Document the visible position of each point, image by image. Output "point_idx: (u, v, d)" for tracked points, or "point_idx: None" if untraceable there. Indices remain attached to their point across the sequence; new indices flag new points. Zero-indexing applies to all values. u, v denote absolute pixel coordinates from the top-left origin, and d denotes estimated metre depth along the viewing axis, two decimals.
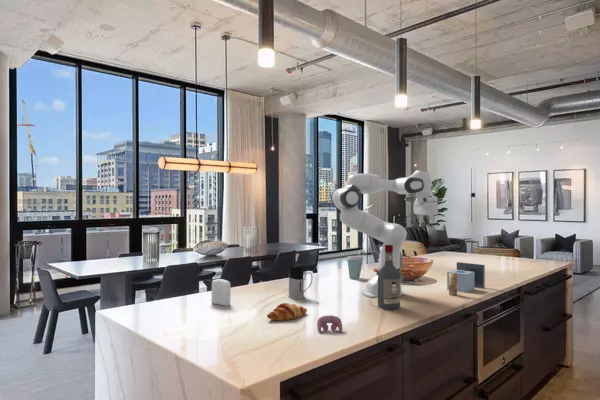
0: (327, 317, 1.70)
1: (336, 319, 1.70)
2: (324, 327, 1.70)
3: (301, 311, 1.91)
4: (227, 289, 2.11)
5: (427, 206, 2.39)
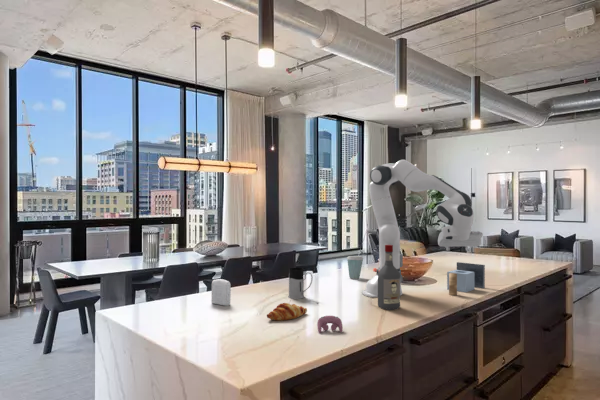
0: (327, 317, 1.70)
1: (336, 319, 1.70)
2: (324, 327, 1.70)
3: (301, 311, 1.91)
4: (227, 289, 2.11)
5: None
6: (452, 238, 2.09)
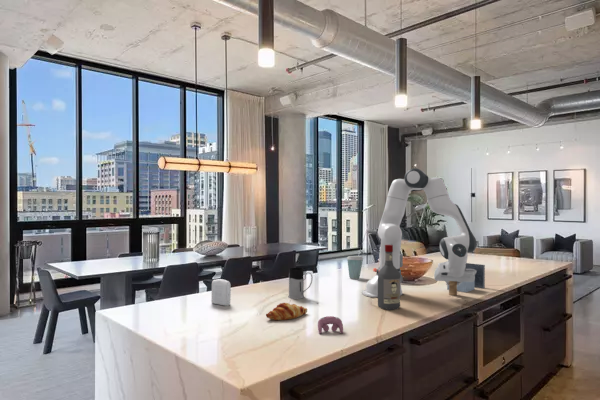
0: (328, 318, 1.69)
1: (337, 320, 1.69)
2: (325, 328, 1.69)
3: (301, 311, 1.91)
4: (227, 289, 2.11)
5: None
6: (447, 274, 2.22)
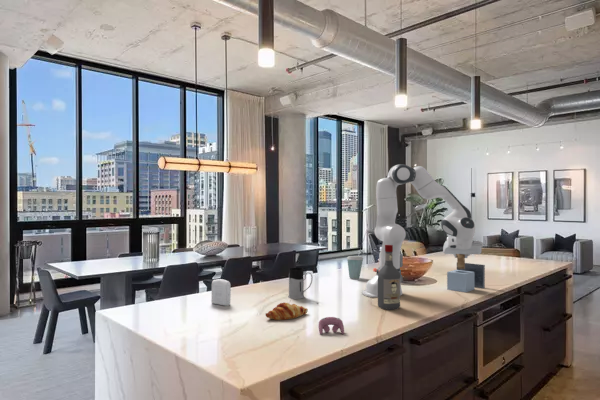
0: (328, 319, 1.68)
1: (338, 321, 1.68)
2: (325, 329, 1.68)
3: (301, 311, 1.91)
4: (227, 289, 2.11)
5: None
6: (456, 247, 2.36)
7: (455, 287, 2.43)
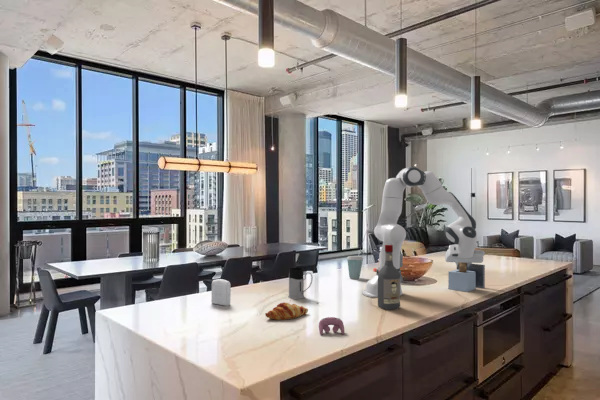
0: (329, 319, 1.68)
1: (338, 321, 1.68)
2: (326, 329, 1.67)
3: (301, 311, 1.91)
4: (227, 289, 2.11)
5: None
6: (458, 255, 2.38)
7: (456, 287, 2.44)
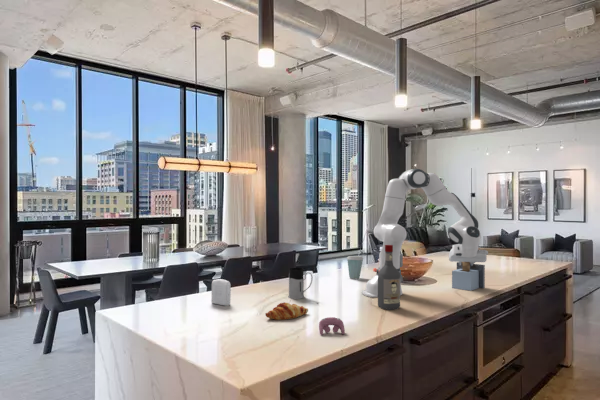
0: (329, 319, 1.67)
1: (338, 321, 1.67)
2: (326, 329, 1.67)
3: (301, 311, 1.91)
4: (227, 289, 2.11)
5: None
6: (461, 255, 2.41)
7: (460, 286, 2.47)
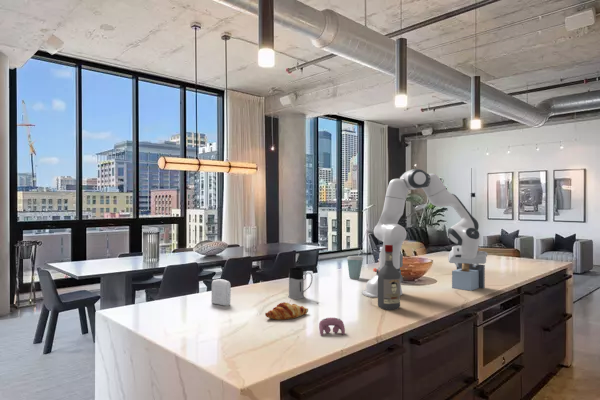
0: (329, 319, 1.67)
1: (338, 321, 1.67)
2: (326, 330, 1.67)
3: (301, 311, 1.91)
4: (227, 289, 2.11)
5: None
6: (461, 256, 2.41)
7: (460, 286, 2.47)
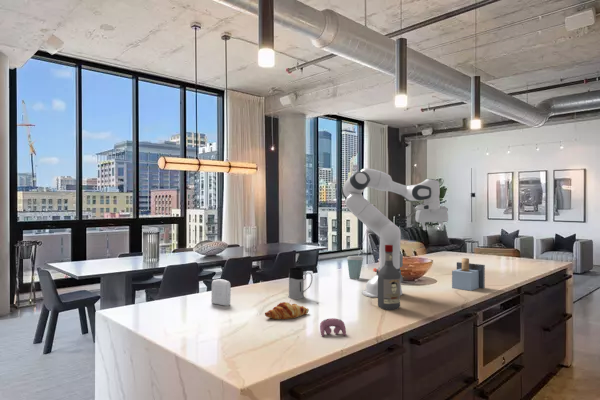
0: (330, 320, 1.66)
1: (339, 322, 1.66)
2: (327, 330, 1.66)
3: (301, 311, 1.91)
4: (227, 289, 2.11)
5: None
6: (428, 207, 2.50)
7: (460, 286, 2.47)
